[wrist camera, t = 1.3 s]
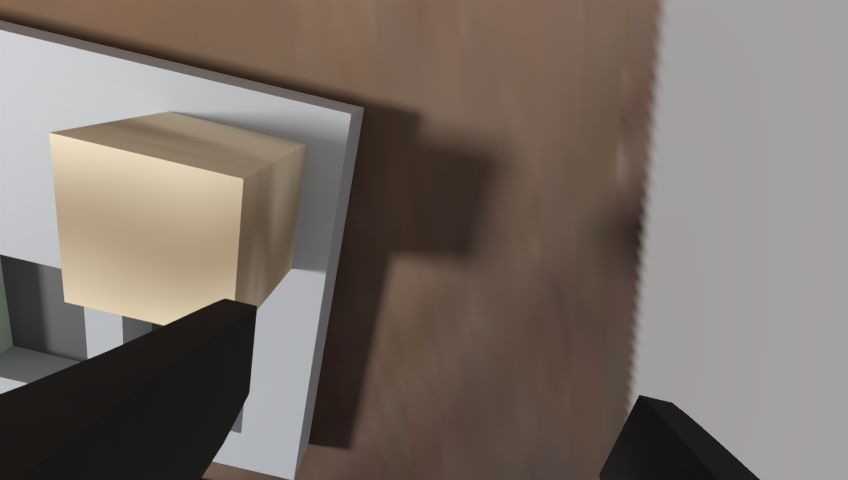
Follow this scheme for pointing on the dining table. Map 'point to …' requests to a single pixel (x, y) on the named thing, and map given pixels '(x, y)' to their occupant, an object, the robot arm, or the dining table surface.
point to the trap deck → (102, 331)
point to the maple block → (173, 214)
